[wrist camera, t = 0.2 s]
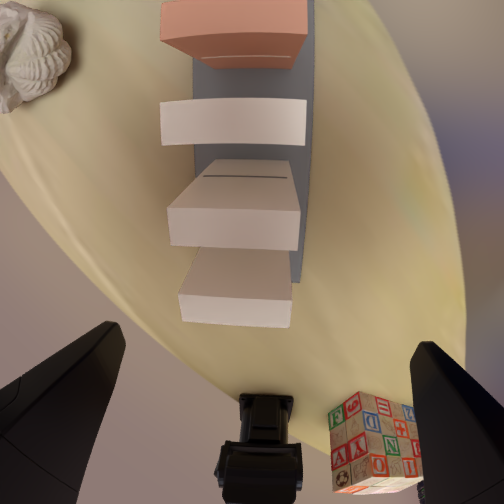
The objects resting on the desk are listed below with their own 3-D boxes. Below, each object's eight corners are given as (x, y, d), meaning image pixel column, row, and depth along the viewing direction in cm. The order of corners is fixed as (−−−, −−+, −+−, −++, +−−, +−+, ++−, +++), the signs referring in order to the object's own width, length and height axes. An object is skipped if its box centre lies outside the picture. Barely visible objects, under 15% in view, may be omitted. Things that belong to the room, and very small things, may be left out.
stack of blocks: (442, 412, 35) (460, 472, 24) (415, 431, 38) (428, 489, 27) (357, 389, 31) (372, 478, 21) (325, 413, 34) (331, 494, 23)
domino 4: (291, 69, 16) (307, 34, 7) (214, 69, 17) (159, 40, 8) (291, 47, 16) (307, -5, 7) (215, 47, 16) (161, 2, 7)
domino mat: (299, 280, 24) (299, 282, 24) (203, 275, 25) (202, 278, 24) (313, -1, 14) (313, -3, 13) (196, 0, 14) (194, -2, 14)
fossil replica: (80, 104, 18) (100, -2, 14) (14, 104, 11) (48, -36, 7) (-8, 119, 18) (6, 29, 14) (-67, 131, 10) (-48, 21, 6)
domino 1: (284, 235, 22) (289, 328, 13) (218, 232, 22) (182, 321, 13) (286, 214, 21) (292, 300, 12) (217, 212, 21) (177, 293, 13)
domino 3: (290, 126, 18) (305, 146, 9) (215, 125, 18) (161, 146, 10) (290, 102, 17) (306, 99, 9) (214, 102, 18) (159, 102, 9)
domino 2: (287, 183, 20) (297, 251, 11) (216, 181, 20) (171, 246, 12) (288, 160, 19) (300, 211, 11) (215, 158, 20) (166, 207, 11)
